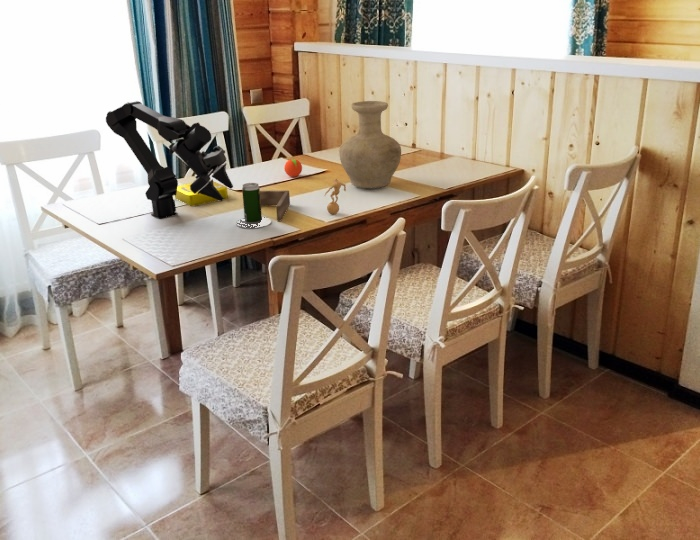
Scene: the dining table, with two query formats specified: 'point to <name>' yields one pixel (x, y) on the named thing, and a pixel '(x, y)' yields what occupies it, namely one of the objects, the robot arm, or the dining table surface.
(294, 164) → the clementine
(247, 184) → the beer can
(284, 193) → the corner niche
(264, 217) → the coaster
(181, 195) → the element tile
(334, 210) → the figurine
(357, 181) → the vase
